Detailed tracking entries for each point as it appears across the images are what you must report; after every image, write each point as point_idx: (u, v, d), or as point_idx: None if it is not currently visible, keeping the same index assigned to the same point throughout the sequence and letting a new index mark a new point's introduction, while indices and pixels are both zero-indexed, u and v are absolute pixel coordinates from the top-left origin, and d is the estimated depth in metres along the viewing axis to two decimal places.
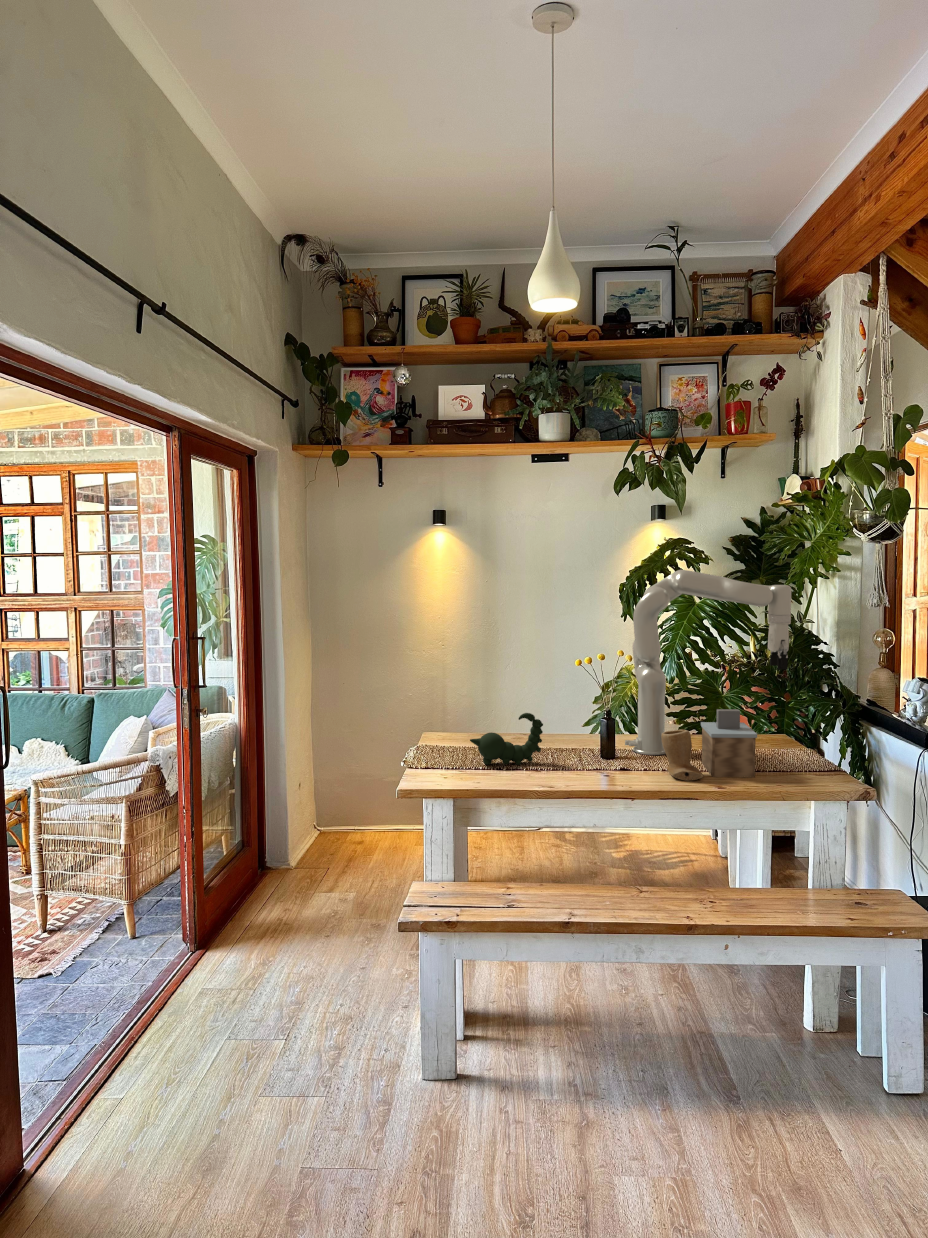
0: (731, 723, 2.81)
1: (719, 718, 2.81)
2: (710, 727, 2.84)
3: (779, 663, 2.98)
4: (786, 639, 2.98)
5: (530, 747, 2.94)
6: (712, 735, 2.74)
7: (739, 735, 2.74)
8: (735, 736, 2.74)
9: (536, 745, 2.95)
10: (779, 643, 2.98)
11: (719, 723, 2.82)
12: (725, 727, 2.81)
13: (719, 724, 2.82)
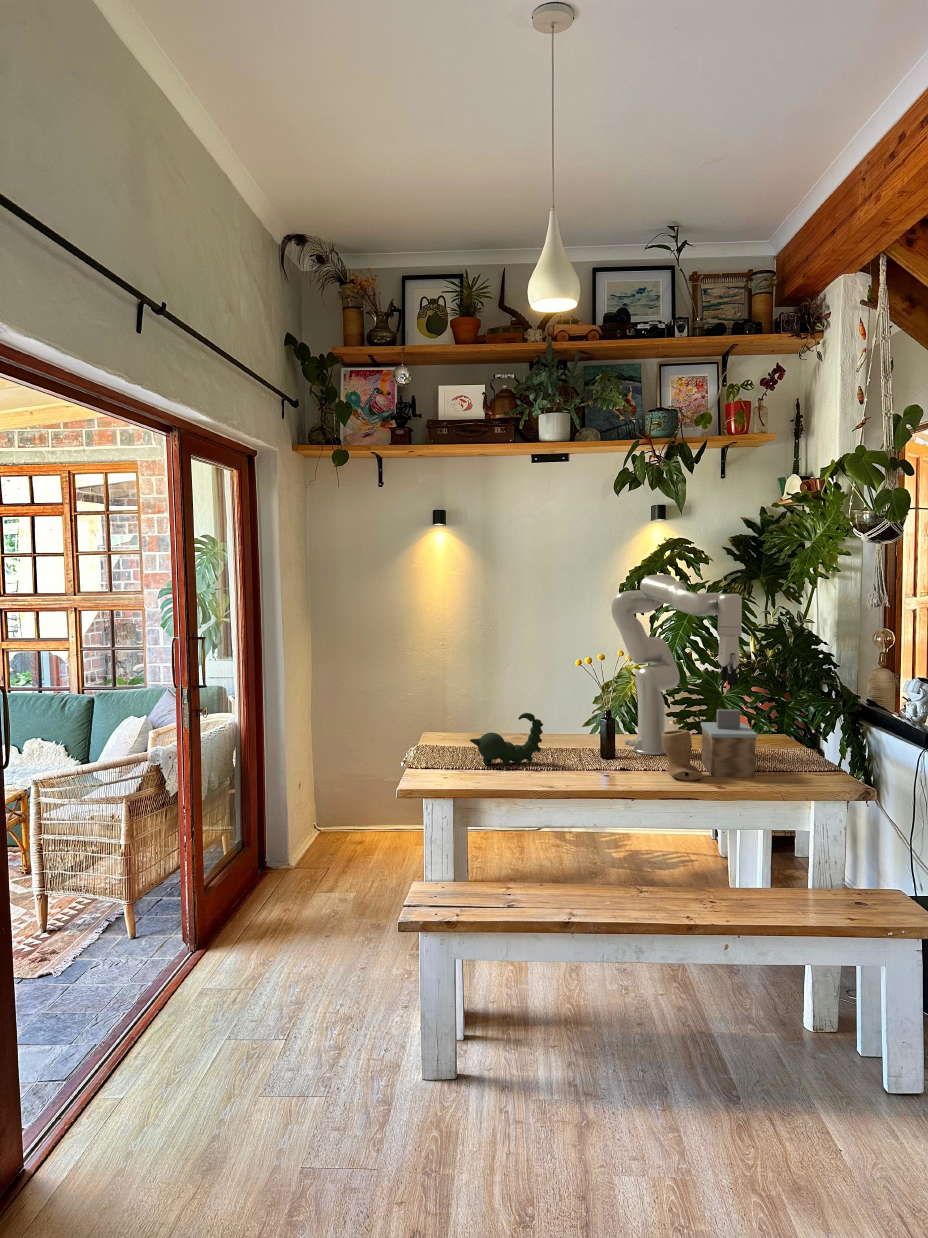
0: (731, 723, 2.81)
1: (719, 718, 2.81)
2: (710, 727, 2.84)
3: (729, 679, 2.76)
4: (736, 652, 2.76)
5: (530, 747, 2.94)
6: (712, 735, 2.74)
7: (739, 735, 2.74)
8: (735, 736, 2.74)
9: (536, 745, 2.95)
10: (729, 657, 2.76)
11: (719, 723, 2.82)
12: (725, 727, 2.81)
13: (719, 724, 2.82)
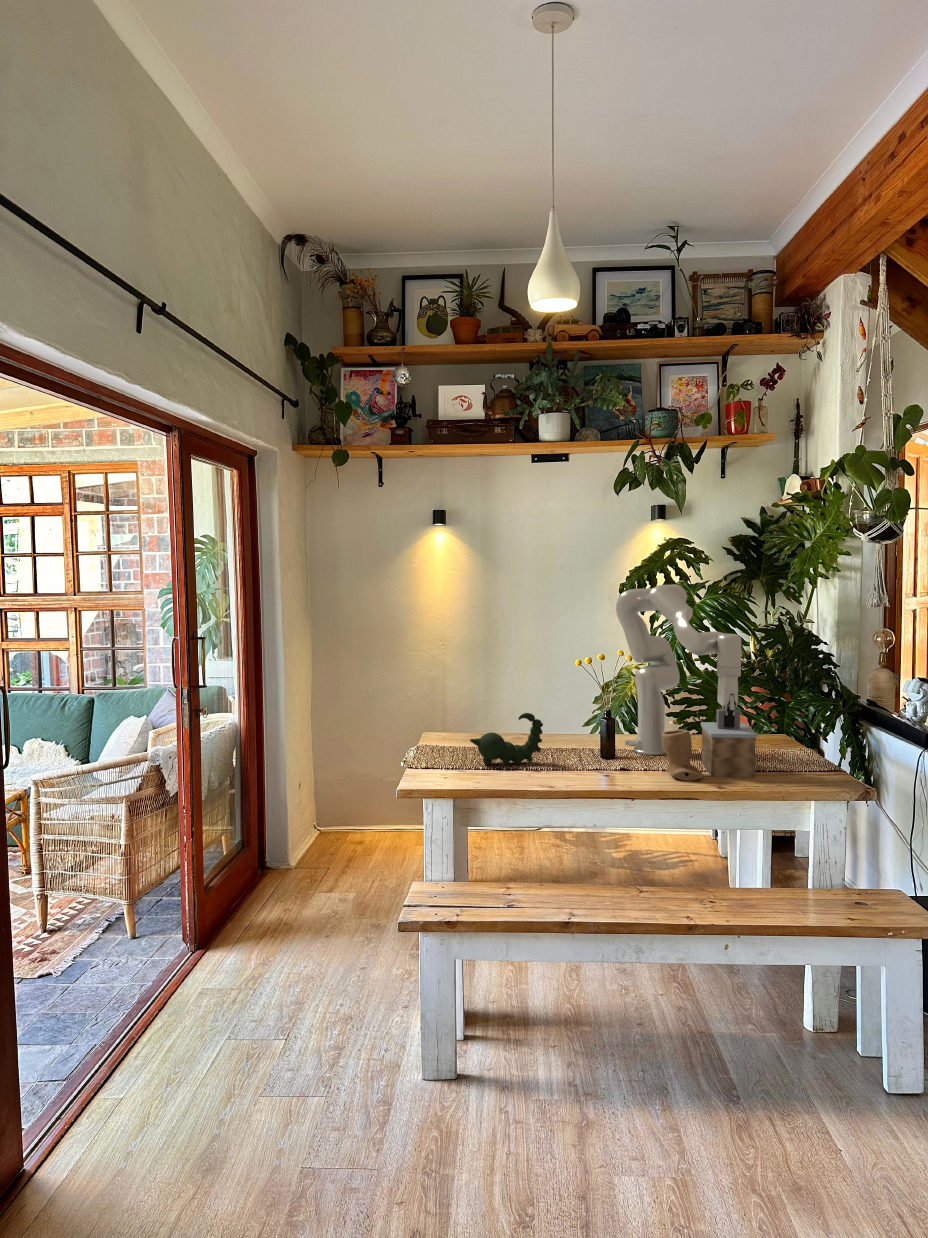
0: None
1: (719, 718, 2.81)
2: (710, 727, 2.84)
3: (726, 721, 2.81)
4: (735, 693, 2.77)
5: (530, 747, 2.94)
6: (712, 735, 2.74)
7: (739, 735, 2.74)
8: (735, 736, 2.74)
9: (536, 745, 2.95)
10: (728, 697, 2.77)
11: (719, 723, 2.82)
12: (725, 727, 2.81)
13: (719, 724, 2.82)
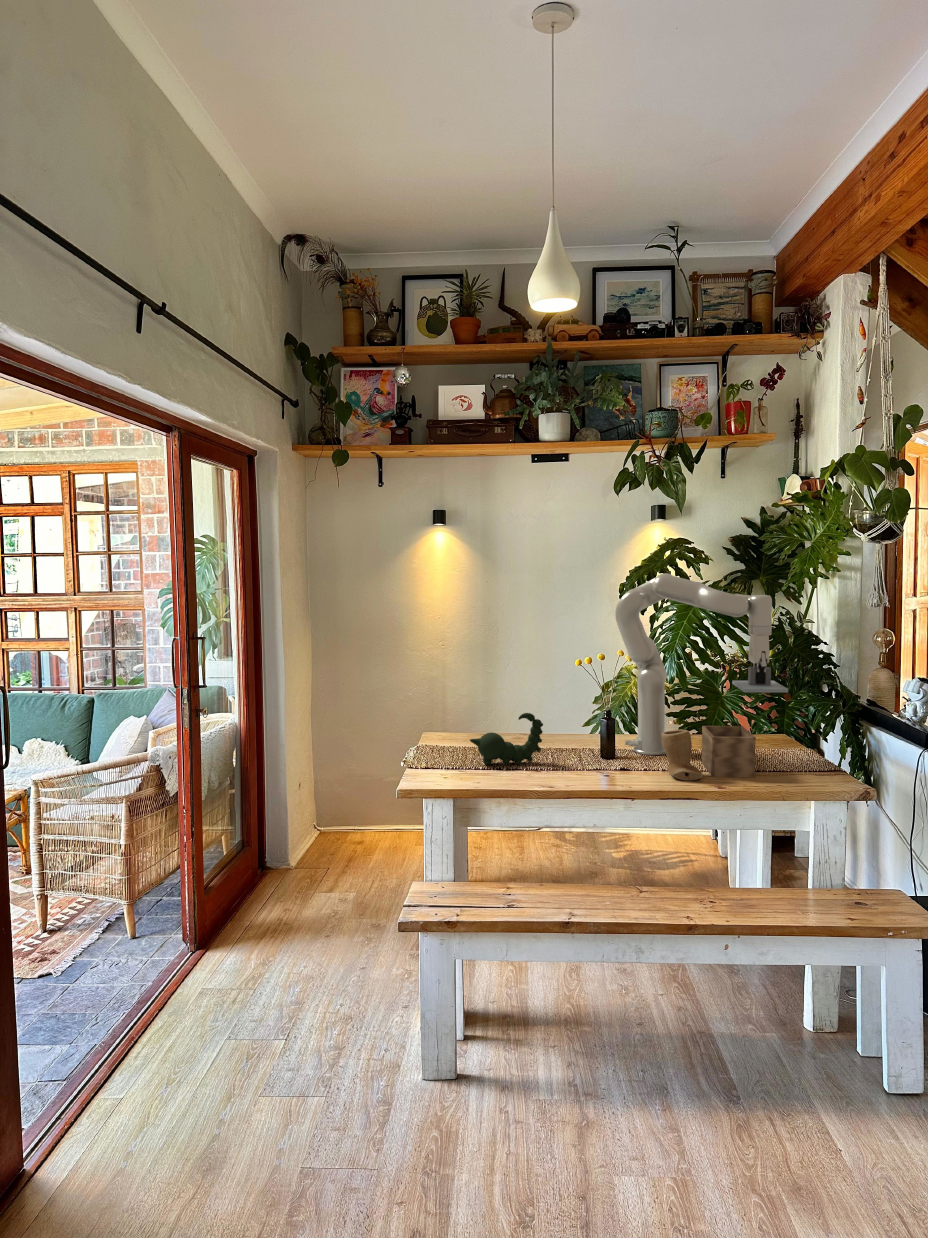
0: None
1: (751, 675, 2.96)
2: (742, 684, 2.98)
3: (757, 677, 2.95)
4: (767, 650, 2.91)
5: (530, 747, 2.94)
6: (745, 690, 2.89)
7: (771, 690, 2.88)
8: (767, 691, 2.88)
9: (536, 745, 2.95)
10: (759, 655, 2.92)
11: (751, 680, 2.96)
12: None
13: (751, 681, 2.96)
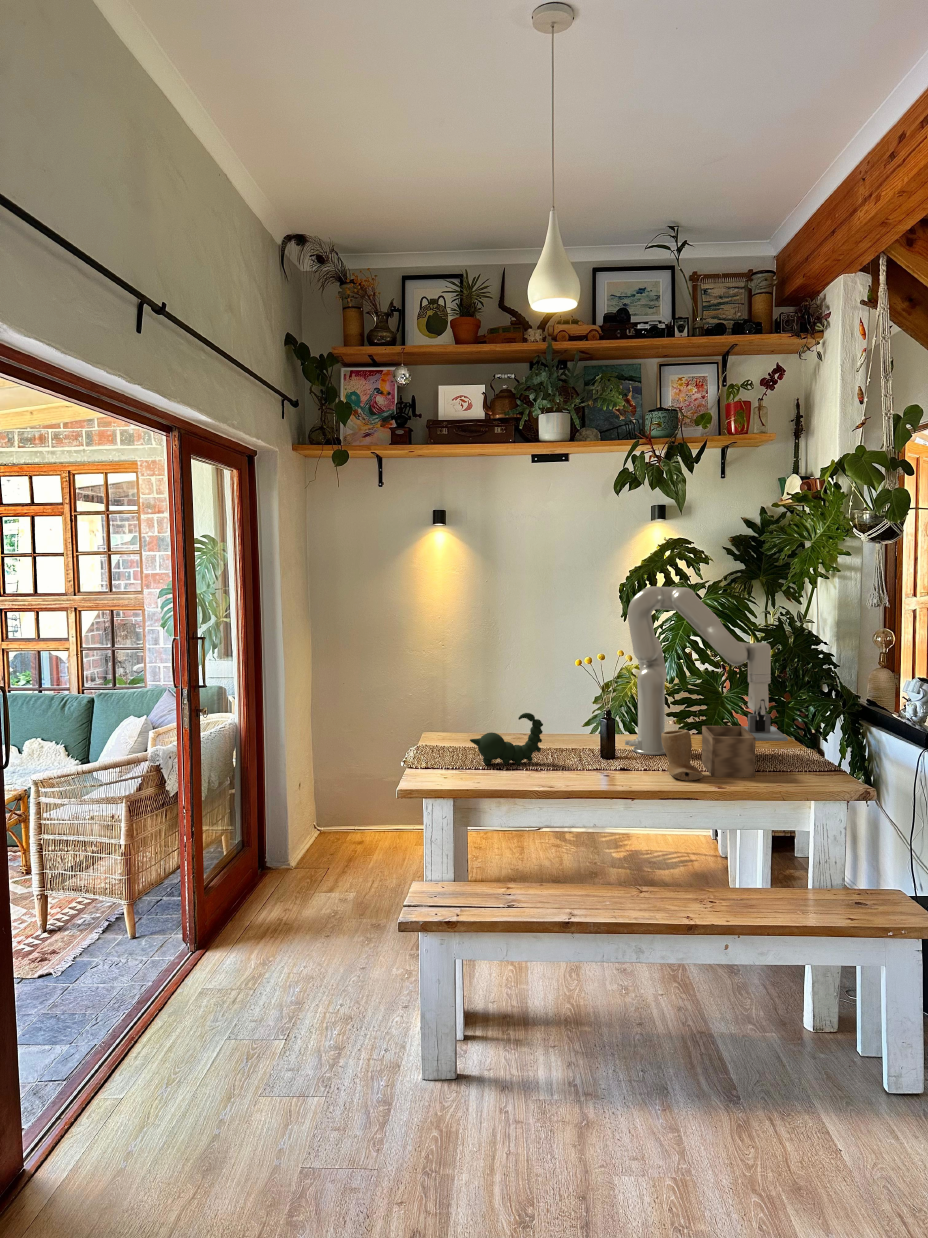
0: None
1: (751, 722, 2.97)
2: None
3: (757, 725, 2.97)
4: (766, 699, 2.93)
5: (530, 747, 2.94)
6: None
7: (770, 738, 2.89)
8: (767, 739, 2.90)
9: (536, 745, 2.95)
10: (759, 703, 2.93)
11: (751, 727, 2.97)
12: (756, 731, 2.97)
13: (751, 728, 2.98)
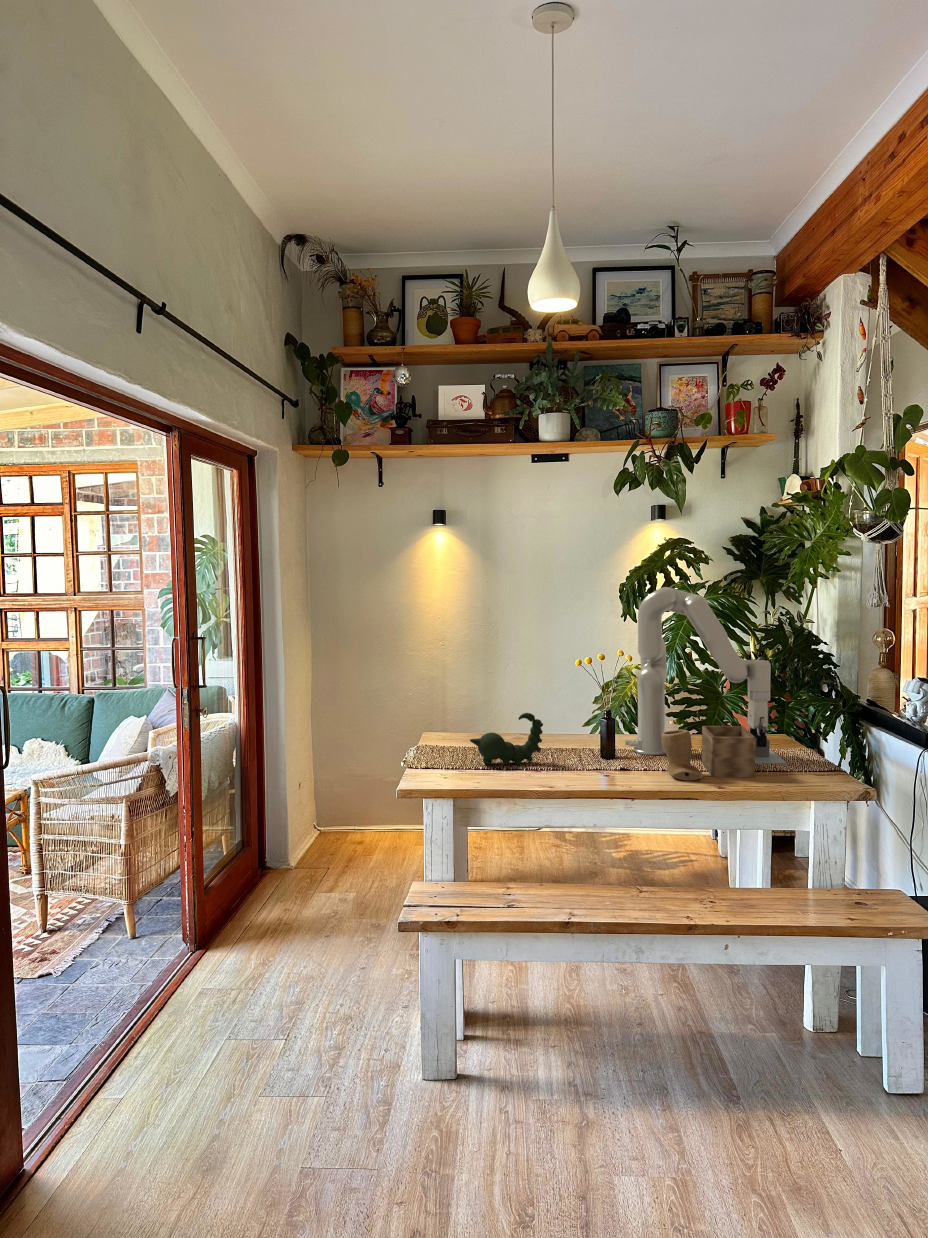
0: (761, 752, 2.98)
1: None
2: None
3: (758, 741, 2.94)
4: (765, 716, 2.93)
5: (530, 747, 2.94)
6: None
7: None
8: None
9: (536, 745, 2.95)
10: (758, 720, 2.93)
11: None
12: (755, 755, 2.98)
13: None
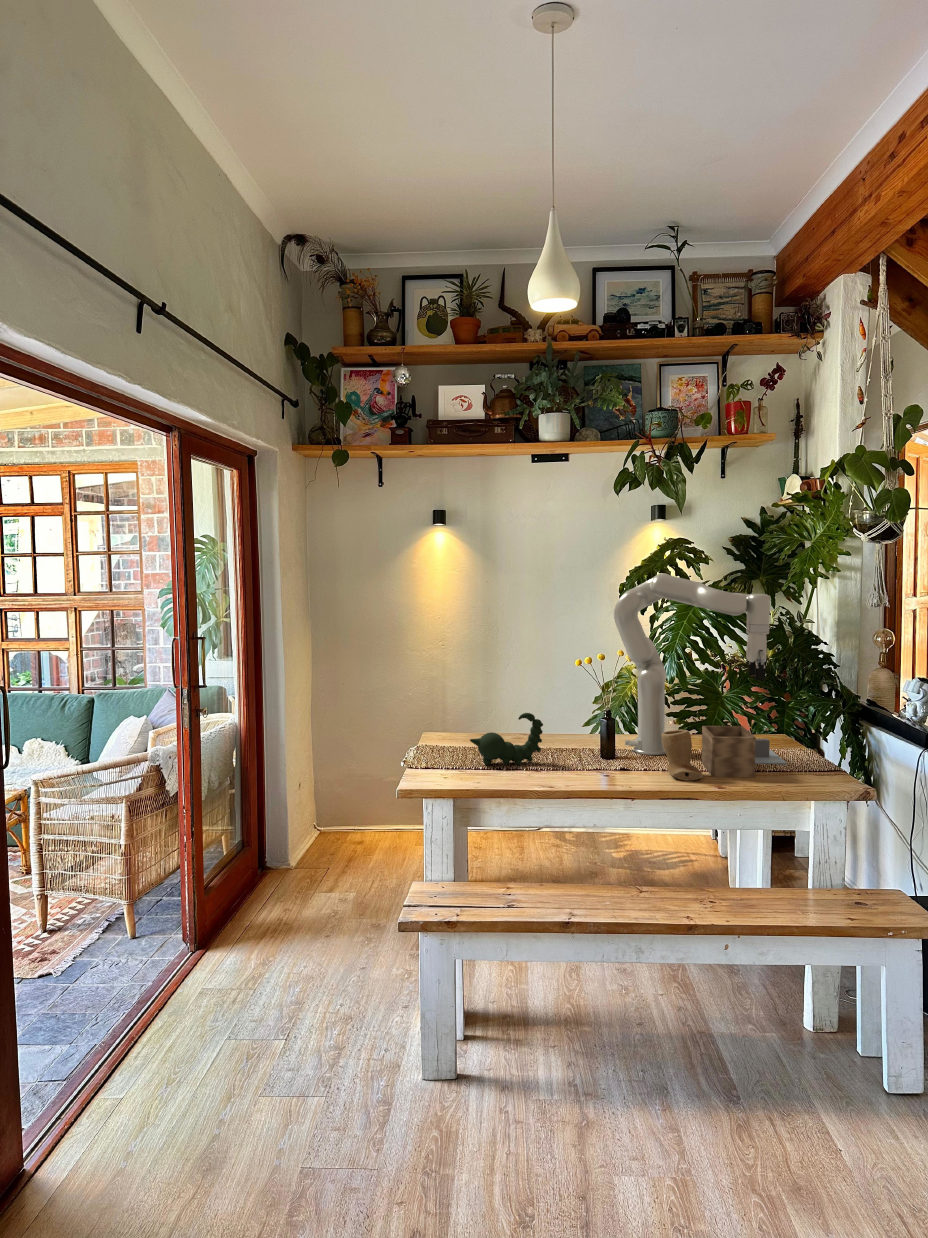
0: (761, 752, 2.98)
1: None
2: None
3: (756, 674, 2.93)
4: (764, 649, 2.92)
5: (530, 747, 2.94)
6: None
7: None
8: None
9: (536, 745, 2.95)
10: (757, 653, 2.92)
11: None
12: (755, 755, 2.98)
13: None
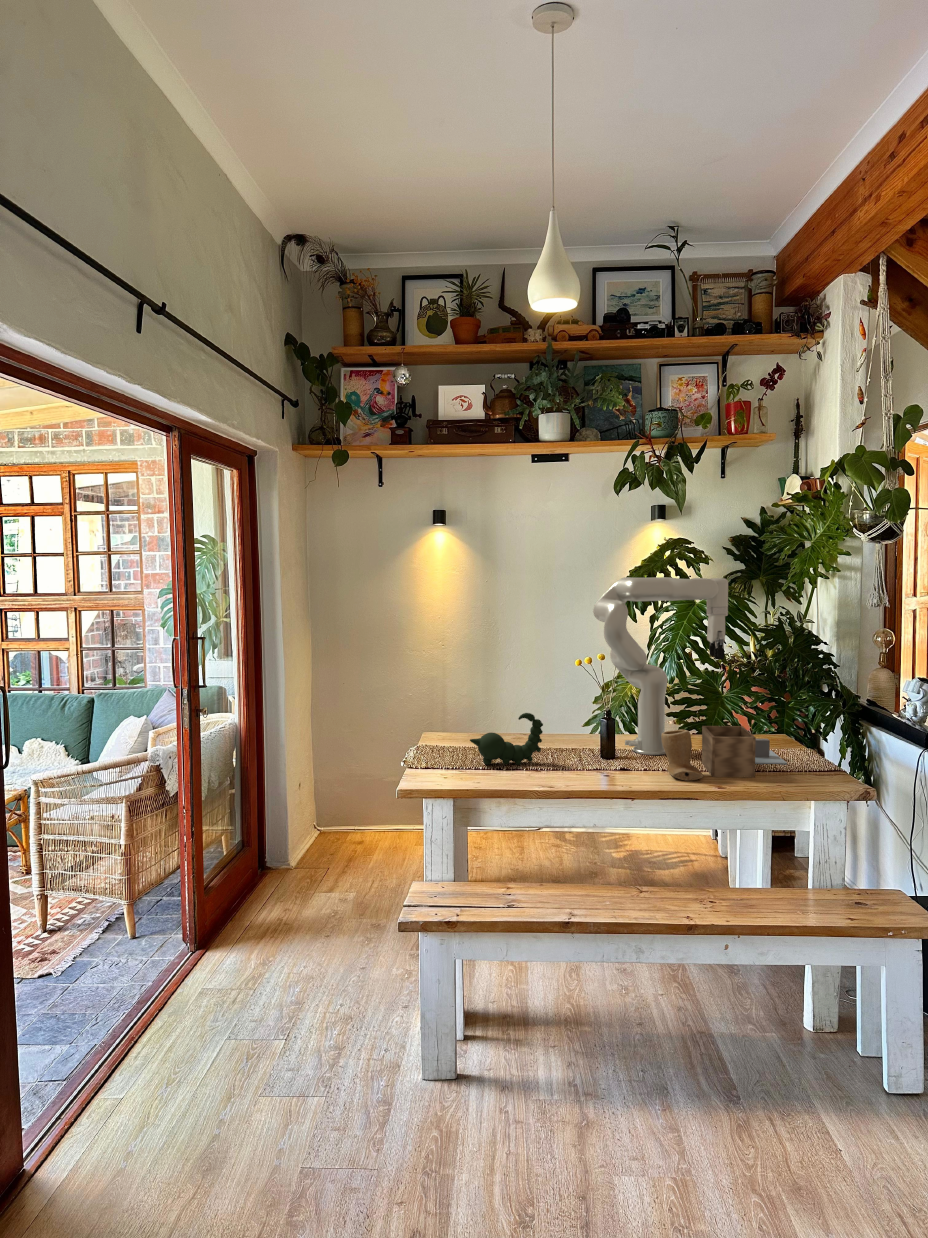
0: (761, 752, 2.98)
1: None
2: None
3: (716, 653, 3.10)
4: (723, 630, 3.10)
5: (530, 747, 2.94)
6: None
7: None
8: None
9: (536, 745, 2.95)
10: (716, 634, 3.10)
11: None
12: (755, 755, 2.98)
13: None
